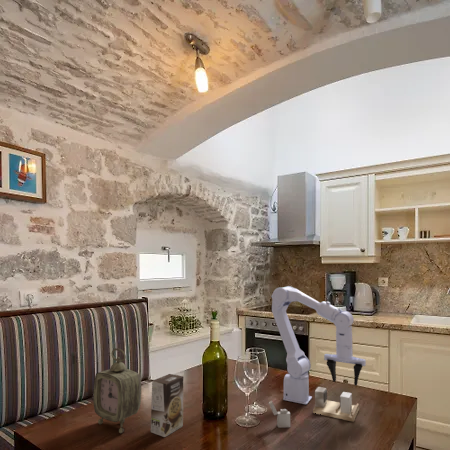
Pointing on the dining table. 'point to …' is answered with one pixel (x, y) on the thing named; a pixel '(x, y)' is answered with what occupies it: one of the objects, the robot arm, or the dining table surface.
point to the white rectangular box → (346, 402)
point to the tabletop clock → (117, 392)
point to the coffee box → (167, 404)
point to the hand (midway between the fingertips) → (345, 382)
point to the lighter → (281, 416)
